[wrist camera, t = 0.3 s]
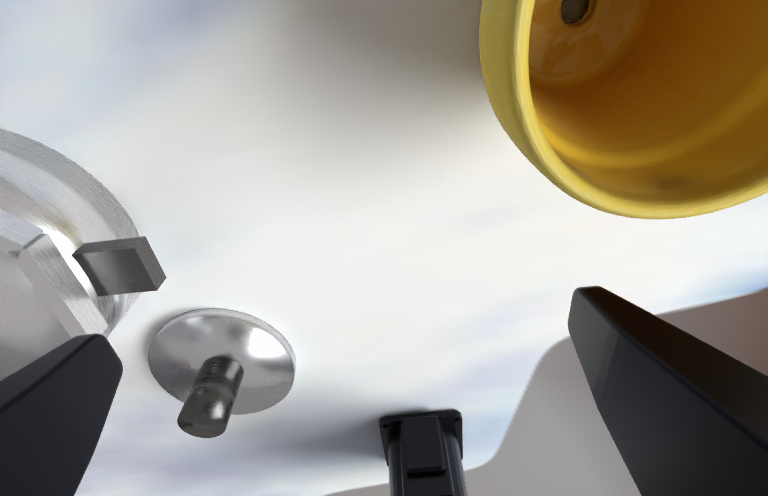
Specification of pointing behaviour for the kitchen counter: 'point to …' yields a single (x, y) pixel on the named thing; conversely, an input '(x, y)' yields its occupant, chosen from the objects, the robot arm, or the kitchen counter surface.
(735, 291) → the kitchen counter surface
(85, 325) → the pot
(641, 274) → the kitchen counter surface
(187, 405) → the lid
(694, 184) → the plant pot
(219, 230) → the kitchen counter surface
